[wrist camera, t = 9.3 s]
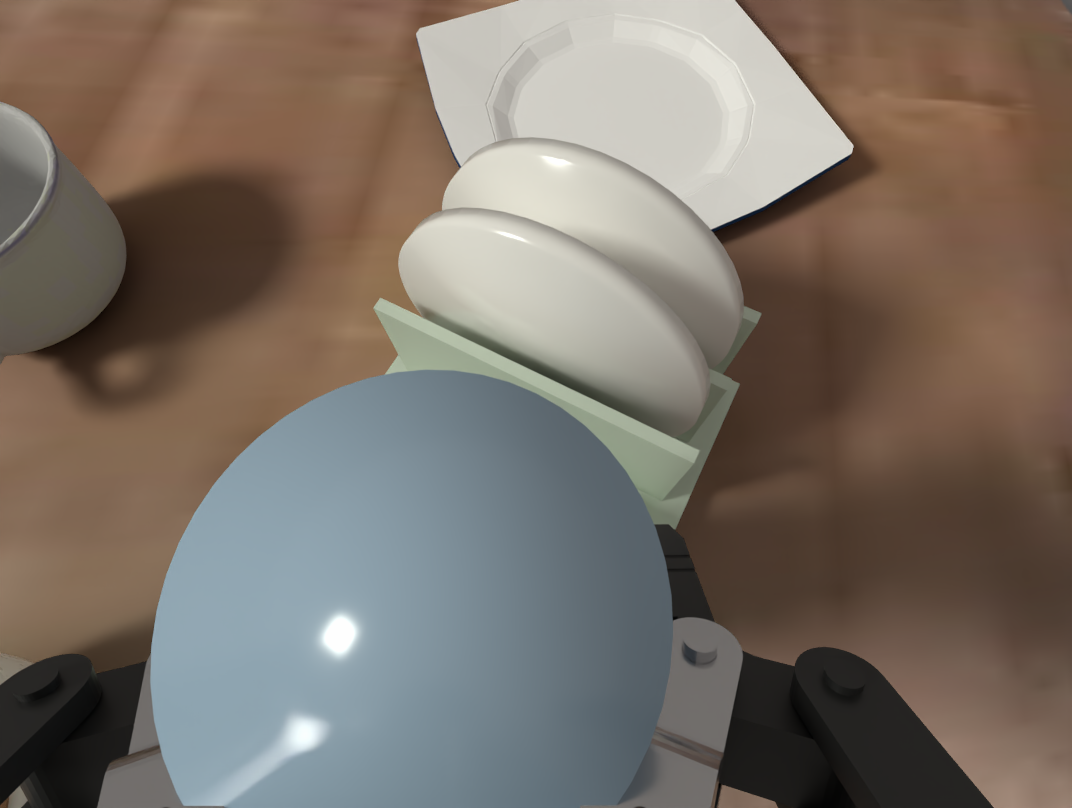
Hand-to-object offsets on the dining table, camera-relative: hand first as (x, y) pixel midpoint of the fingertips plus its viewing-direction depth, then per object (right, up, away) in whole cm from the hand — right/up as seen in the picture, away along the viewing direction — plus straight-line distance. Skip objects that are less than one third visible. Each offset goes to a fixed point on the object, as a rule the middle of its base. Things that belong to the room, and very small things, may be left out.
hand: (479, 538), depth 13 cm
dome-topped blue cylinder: (0, -3, +4) cm, 5 cm away
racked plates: (+2, +4, +14) cm, 15 cm away
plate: (+6, +20, +22) cm, 30 cm away
